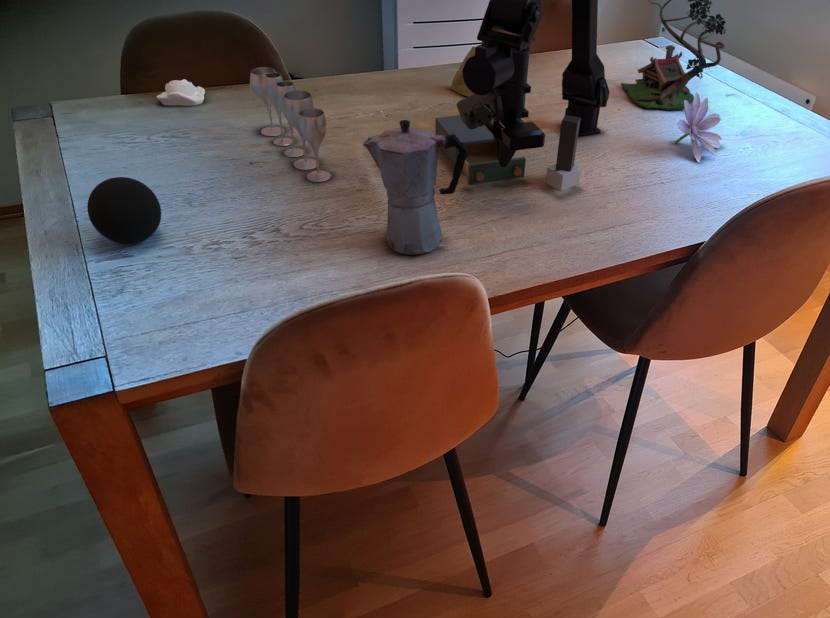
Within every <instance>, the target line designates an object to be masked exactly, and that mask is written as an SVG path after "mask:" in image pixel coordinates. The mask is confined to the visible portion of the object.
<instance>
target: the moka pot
mask: <svg viewBox="0 0 830 618" xmlns="http://www.w3.org/2000/svg"><path fill="white" fill-rule="evenodd" d="M410 121H411V120H408V119H403V120H400V121H399V123H398V124H399V127H397V128H392V129H387V130H384V131H383V132H381V133H380V134H376V135H371V136H368V138H366V139H365V140H363V142H362V147H365V148H366V149H367V151H368V152H369V154H370V156H371V157H372V159H373V161H374V163H375V164H376V166H377V168H378V169H379V172H380V175H381V178H382V179H381V180H382V184H383V187H384V189H385V190H386V195H387V222H386V224H387V225H386V226H387V227H386V242H387V245H388V246H389V248H390V249H391V250H392V251H394V252H397V253H399V254H401V255H402V254H403V255H407V256H411V255H423V254H427V253H429V252H432V251H434V250H435V249H437V248H438V247H440V245H441V243H442V242H443V239H441V238H442V236H443V233H442V228H441V223H440V219H439V214H438V208H437V204H436V199H435V194H436V189H435V186H436V184H437V171H438V162H439V161H438V160H439V150H442V149H447V148H450V147H456V148H457V149H458V150H459V154H458V156H457V161H456V164H455V166H454V168H453V171H452V176H451V177H452V178H451V181H450V183H449V184H448V187H440V188H439V189H438V192H439V194H440V195H452V194H454V193H455V192H456V189H457V186H458V184H459V180H460V178H461V175H462V172H463V170H462V169H463V166H464V162H465V159H467V153H468V151H467V148H466V147H465V146H464V145H463V143H462V142H460V141H459V139H458V138H457V137H456V135H455V134H452V135H447V136H445V135H435V134H434V133H433V132H432V131H431V130H430V129H424V128H418V127H412V126H410V125H411V122H410Z"/></svg>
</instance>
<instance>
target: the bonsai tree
mask: <svg viewBox="0 0 830 618" xmlns="http://www.w3.org/2000/svg"><path fill="white" fill-rule="evenodd" d="M671 1H672V0H667V1H666V2H665V3H664V4H663V5H661V4H660V3H657V2H651V1H650V0H648V2H649V4H651V5H652V4H653V5H657V6H659V9H660V10H659V18H660V22H661V24H662V25H663V26H664V28H665V29H666V32H668V33H669V34H670V35H671V36H672V37H673V38H674V39H675V40H676V41H677V43H679V44H680V45H682V46H683V47H684V48H685V49H686V50H688V51H689V52H690V53H692V55H694V56H695V58H693V59H688V61H687V62H688V63H687V65H686V68H685V70H689V71H687V72H685V70H684V69H683V66H682V64H681V62H680V59H681V58H682V56H683V52H682V51H680V52H679V54H678V53H677V54H675V55H673V53H674V51H675V50H676V46H674V45H672V44H670V45H666V46H665V50H666V53H665V58H658V59H657V57H653V56H651V57H650V58H649V62H650V63H648V64H647V65H645V66H642V67H640V68H638V69H637V72H638V74H641V75H642V78H637V79H634V80H635V81H634V82H635V83H628V82H627V83H626V82H625V83H624V82H620V87H622V88H623V89H624V90H625V91H626V92H627V96H628V97H629V98H630V99H631V100H632V101H633V102H634V103H635V104H636V106H639V107H642V108H644V109H659V110H665V111H672V110H684V100H687V101H688V102H689V104H690V105H692V103H693V100H694V97H695V96H694V95H693V93H691V90H690V88H689V87H687V86H686V85H687V84H688V83H689V82H690V81H691V80H692V79H693V78H695V77H697V78H698V79H699V80H702V78H704V75H703V72H704V69H707V68H708V70H711V69H710V68H713V67H716V66H718V65H719V64H720V62H721V60H722V57H721V56H722V55H721V50H723V49H725V47H726V45H725V43H723V42H721V41H718V42H716V43H715V44H714V43H711V42H707V41H705V39H707V38H709V37H711V36H712V35H713V34H714V33H715V35H720V36H722V35H725V34H726V31H727V29H725V27H724V26H725V24H726V22H727V21H726V20H725V18H724V17H722V15H721V13H717V14H715V16H714V15H710V14H711V10H710V9H711V6H713V2H712V0H687V1H686V3H689V8H690V10H689V11H686V15H687V16H685V17H679V18H672V19H665V18H664V16H663V12H664V11H663V10H664V8H665V7H666V6H667V5H668V4H669V3H670V2H671ZM707 12H708V14H707ZM689 18H690V19H691V20H692V21H693V22H691V23H689V24H688V25H687V26H686V27H684V30H683V31H682V32H681V34H680V35H678V34H677V33H676V32H675V31H674V30H673V29H672V28H671V27H670V26H669V25H668V22H676V21H682V20H685V19H689ZM707 18H708V19H707ZM706 19H707V20H706ZM694 20H695V21H694ZM695 25H697V26H699V25H703V27H702V30H703V31H702V32H701V33H700V34H699V36H698V38H697V40H696V41H697V48H696V47H694V46H693V45H692V44H690V43H689V42H688V41H686V40H685V39H684V37H685V35H686V33H687V31H688V30H689V29H690V28H692V27H693V26H695ZM708 33H709V35H708V36H705V37H703V36H704V35H705V34H708ZM702 44H704V45H707V46H709V47H713V48H715V52H716V57H717V58H716V60H715V61H714V62H707V60H706V57H705V56H704V54H703V48H702Z"/></svg>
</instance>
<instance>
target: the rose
mask: <svg viewBox="0 0 830 618" xmlns="http://www.w3.org/2000/svg"><path fill="white" fill-rule="evenodd" d="M164 89H165V91H163V92H161V93H160V94H158V95H156V99H157V100H158V101H159V102H160V103H161V104H162V105H163V106H185V107H186V106H187V107H190V106H198V105H201V104H203V103H204V100H205V94H206V90H205V89H204V87H202V86H195V85H194V84H193V82H192V81H188V80H187V79H185V78H183V79H181V80H178V79H174V80H170V81H169V82H167V83H165V86H164Z"/></svg>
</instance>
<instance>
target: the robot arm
mask: <svg viewBox="0 0 830 618" xmlns="http://www.w3.org/2000/svg"><path fill="white" fill-rule="evenodd" d="M543 3H544V0H489V1H488V4H487V7H486V10H485V13H484V16H483V18H482V22H481V24H480V28H479V30H478V33H477V36H476V40H477V41H480V42H484V43H483V44H479V45H476V46H475V47H476V48H475V55H474V56H472V57H470V58H469V59H468V60H467V61H466V63H465V65H464V68H463V79H464V82H465V84H466V86H467V87H468V88H469V90H470V91H472V92H473V93H475V94H473V95H471V96H469V97H468V96H466V97H465V98H463V99H461V100H459V101H457V103H456V108H457V110H458V113H459V114H458V115H460V117H461V120H462V122H463V123H464V124H465V125H466V126H467V128H468V129H475V128H477V127H478V126H479V127H481V126H483V125H485V126H486V128H487V129H488V130H489V131H490V132H491V133H492V134H493V137H494V141H495V146H496V150H497V155H498V160H499V165H500V166H501V167H507V165H508V164H509V162H510V160H511V159H512V157H513V158H514V156H515V154H516V152H517V151H522V150H530V149H531V150H532V149H539V148H543V147H544V146H545V143H546V141H545V140H546V134H545V132H544V131H543V130H542V129H541V128H540V127H539V126H538V125H537V124H535V122H534V121H526V120H525V119H526V118H529V113H530V112H529V110H528V109H527V108H526V106H525V105H526V96H527V94H531V92H532V86H531V85H530V84H529V83H528V76H529V75H528V73H529V63H530V61H529V60H530V51H531V44H533V43H535V41H536V37H535V33H536V32H537V30H538V27H539V25H540V23H541V21H542V18H543V15H544V5H543ZM570 6H571V8H570V11H571V12H570V13H571V17H570V18H571V60H570V61H569V63H568V64H567V66H566V67H565V68H564V70H563V72H562V74H561V77H562V78H561V95H562V96H561V99H562V100H563V101H567V107H566V108H565V111H564V116H565V115H569V116H574V117H580V118H581V120H580V126H579V133H578V137H583V136H589V135H595V134H600V133H601V131H602V130H601V129H600V128H598V122H599V116H600V110H601V108H606V107H607V106H608V105H607V104H608V100H609V98H610V93H611V91H610V88H609V84H608V82H607V78H606V74H605V72H606V71H605V65H604V63H603V62H602V60H601V58H600V57H599V55H598V49H597V47H598V15H599V14H598V11H599V0H571V3H570ZM493 28H494V29H495V30H493ZM497 30H499V31H497ZM502 31H503V32H502ZM506 32H507V33H506Z"/></svg>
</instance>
